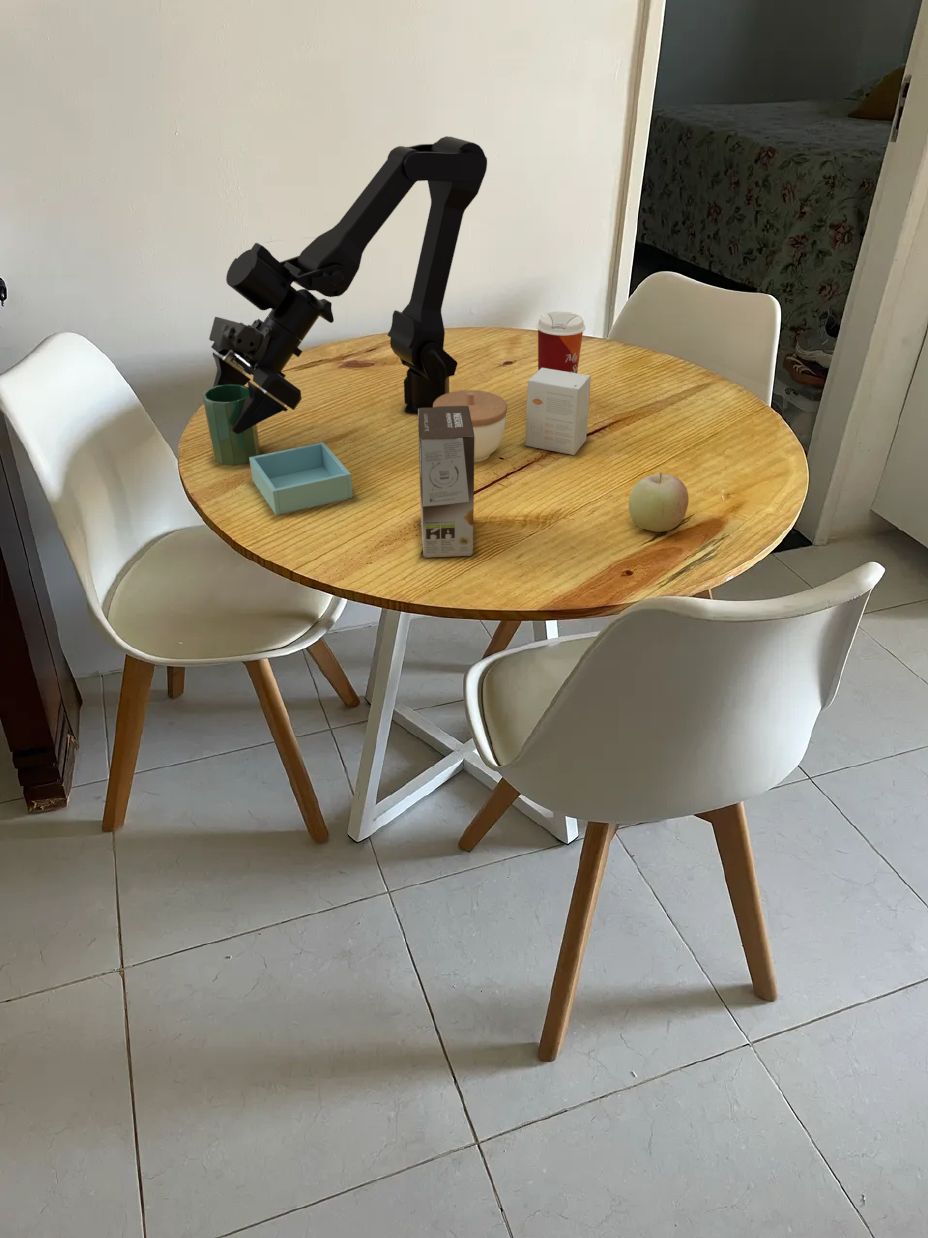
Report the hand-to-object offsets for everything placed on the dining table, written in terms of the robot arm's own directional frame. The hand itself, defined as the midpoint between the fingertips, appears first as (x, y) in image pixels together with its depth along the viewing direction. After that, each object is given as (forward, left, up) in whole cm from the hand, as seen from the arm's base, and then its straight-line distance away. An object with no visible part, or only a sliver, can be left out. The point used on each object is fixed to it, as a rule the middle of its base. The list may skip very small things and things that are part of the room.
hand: (222, 420), depth 131 cm
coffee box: (-36, +14, -6) cm, 39 cm away
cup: (-1, -1, -6) cm, 6 cm away
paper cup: (-44, -31, -6) cm, 54 cm away
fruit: (-62, +5, -6) cm, 63 cm away
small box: (-46, -16, -6) cm, 49 cm away
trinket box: (-34, -10, -6) cm, 36 cm away
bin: (-14, +7, -6) cm, 16 cm away
